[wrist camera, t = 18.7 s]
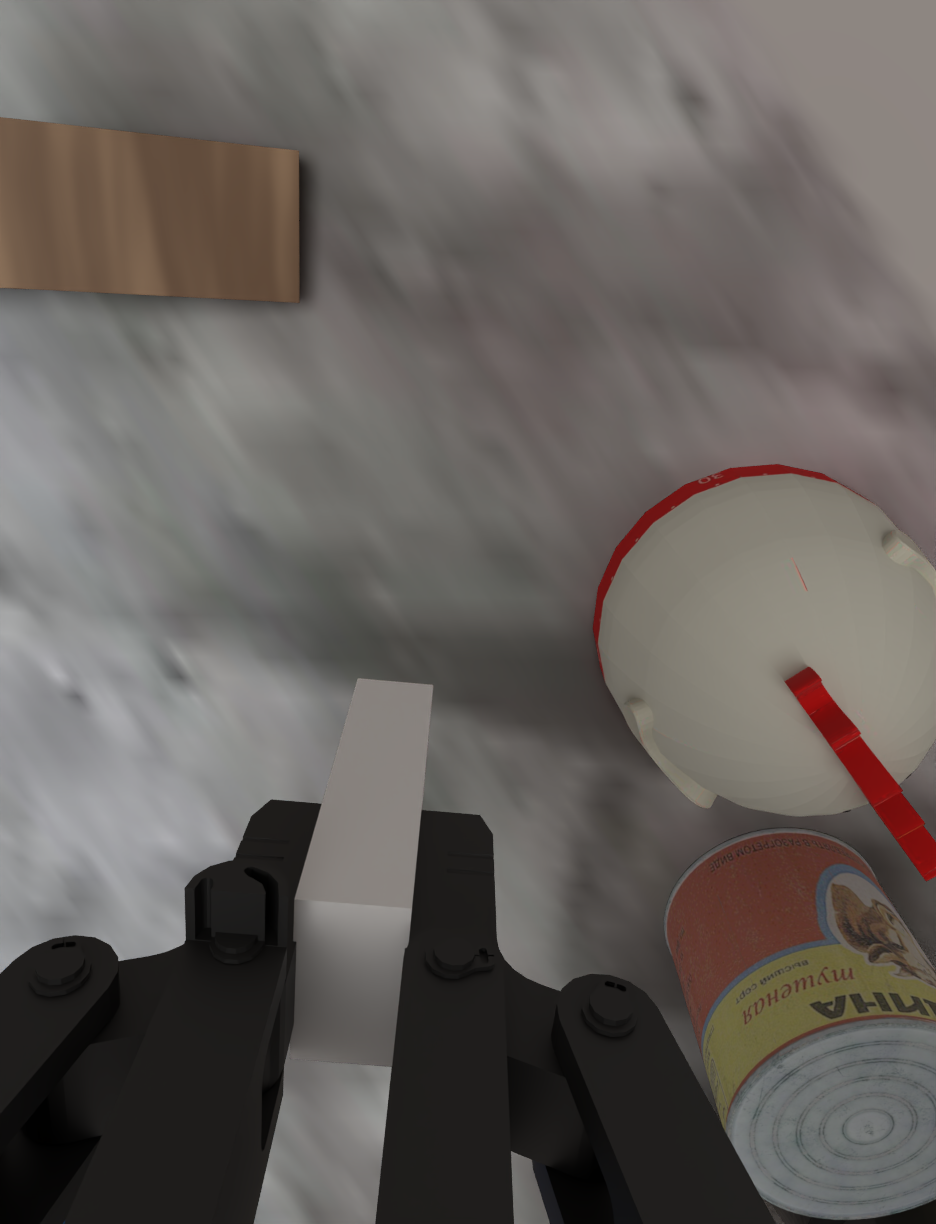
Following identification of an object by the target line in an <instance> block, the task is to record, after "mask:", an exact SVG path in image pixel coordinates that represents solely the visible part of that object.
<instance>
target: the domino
mask: <svg viewBox="0 0 936 1224" xmlns="http://www.w3.org/2000/svg"><path fill="white" fill-rule="evenodd" d="M0 288H20V289H40V290H59V291H79V292H98V293H118V294H138V295H157V296H177V297H196V298H216V299H235V300H255V301H275V302H294V303H299V151H296V150H287V149H278V148H269V147H260V146H252V145H243V144H234V143H225V142H216V141H207V140H198V139H189V138H180V137H171V136H162V135H154V134H145V133H136V132H127V131H118V130H109V129H100V128H91V127H82V126H73V125H64V124H55V123H47V122H38V121H29V120H20V119H11V118H2V117H0Z"/></svg>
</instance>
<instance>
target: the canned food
mask: <svg viewBox="0 0 936 1224" xmlns="http://www.w3.org/2000/svg"><path fill="white" fill-rule="evenodd" d="M664 933H665V938H666V942H667V946H668V948H669V951H670V953H671V955H672V957H673V960H674V963H675V966H676V970H677V973H678V977H679V980H680V983H681V987H682V990H683V994H684V997H685V1000H686V1004H687V1007H688V1011H689V1014H690V1017H691V1021H692V1024H693V1028H694V1031H695V1034H696V1038H697V1041H698V1045H699V1048H700V1051H701V1055H702V1058H703V1062H704V1065H705V1068H706V1072H707V1075H708V1079H709V1082H710V1085H711V1089H712V1092H713V1096H714V1099H715V1102H716V1106H717V1109H718V1113H719V1116H720V1119H721V1123H722V1126H723V1128H724V1130H725V1132H726V1134H727V1136H728V1137H729V1139H730V1141H731V1143H732V1145H733V1147H734V1148H735V1150H736V1152H737V1154H738V1156H739V1158H740V1159H741V1161H742V1163H743V1165H744V1167H745V1168H746V1170H747V1172H748V1174H749V1176H750V1178H751V1179H752V1181H753V1183H754V1185H755V1187H756V1189H757V1190H758V1192H759V1194H760V1196H761V1198H763V1199H764V1200H766V1201H768V1202H769V1203H771V1204H773V1205H775V1206H777V1207H780V1208H782V1209H785V1210H787V1211H790V1212H793V1213H797V1214H800V1215H805V1216H809V1217H815V1218H821V1219H833V1220H856V1219H868V1218H876V1217H882V1216H887V1215H891V1214H896V1213H900V1212H903V1211H907V1210H910V1209H913V1208H916V1207H919V1206H921V1205H924V1204H926V1203H929V1202H931V1201H933V1200H935V1199H936V970H935V969H934V967H933V966H932V964H931V963H930V961H929V960H928V958H927V957H926V955H925V954H924V952H923V950H922V949H921V947H920V946H919V944H918V943H917V941H916V940H915V938H914V937H913V935H912V934H911V932H910V931H909V929H908V927H907V926H906V924H905V923H904V921H903V920H902V918H901V917H900V915H899V914H898V912H897V911H896V909H895V908H894V906H893V905H892V903H891V901H890V900H889V898H888V897H887V895H886V894H885V892H884V891H883V889H882V888H881V886H880V885H879V883H878V881H877V878H876V876H875V874H874V872H873V871H872V869H871V867H870V866H869V864H868V863H867V862H866V860H865V859H864V858H863V857H862V856H861V855H860V854H859V853H858V852H857V851H856V850H854V849H853V848H852V847H851V846H849V845H848V844H846V843H844V842H843V841H841V840H839V839H837V838H835V837H832V836H830V835H827V834H824V833H821V832H817V831H812V830H807V829H799V828H773V829H766V830H760V831H755V832H751V833H748V834H744V835H741V836H738V837H736V838H733V839H731V840H728V841H726V842H724V843H722V844H720V845H718V846H717V847H715V848H713V849H711V850H710V851H709V852H707V853H706V854H704V855H703V856H701V857H700V858H699V859H698V860H697V861H695V862H694V863H693V864H692V865H691V866H690V867H689V868H688V869H687V870H686V872H685V873H684V874H683V875H682V876H681V878H680V879H679V881H678V882H677V884H676V885H675V887H674V889H673V891H672V892H671V895H670V897H669V899H668V902H667V906H666V909H665V916H664Z"/></svg>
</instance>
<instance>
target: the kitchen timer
mask: <svg viewBox="0 0 936 1224" xmlns="http://www.w3.org/2000/svg"><path fill="white" fill-rule="evenodd" d="M593 632H594V637H595V642H596V648H597V653H598V658H599V663H600V668H601V671H602V674H603V677H604V680H605V683H606V685H607V687H608V688H609V690H610V692H611V694H612V695H613V697H614V699H615V701H616V703H617V704H618V706H619V708H620V710H621V712H622V713H623V715H624V717H625V720H626V722H627V724H628V726H629V728H630V730H631V731H632V733H633V734H634V736H635V737H636V738H637V740H638V741H639V742H640V743H641V745H642V746H643V747H644V749H645V750H646V751H647V752H648V754H649V755H650V756H651V758H652V759H653V760H654V762H655V763H656V764H657V765H658V766H659V768H660V769H661V770H662V771H663V772H664V773H665V775H666V776H667V777H668V778H669V779H670V780H671V781H672V782H673V784H674V785H675V786H676V787H677V788H678V789H679V790H680V791H681V792H682V793H683V794H684V795H685V796H686V797H687V798H688V799H690V800H691V801H692V802H693V803H695V804H696V805H698V806H699V807H701V808H705V809H707V808H710V807H711V806H712V804H713V802H714V800H715V799H716V797H717V795H719V796H721V797H723V798H725V799H728V800H730V801H732V802H734V803H736V804H738V805H740V806H743V807H746V808H750V809H754V810H760V811H766V812H771V813H777V814H782V815H788V816H797V817H800V816H815V815H830V814H838V813H841V812H848V811H851V809H854V808H858V807H861V806H864V805H867V804H869V803H870V804H871V806H872V807H873V808H874V810H875V811H876V813H877V814H878V815H879V817H880V818H881V820H882V821H883V822H884V824H885V825H886V827H887V828H888V829H889V831H890V832H891V833H892V835H893V836H894V838H895V839H896V840H897V842H898V843H899V845H900V846H901V847H902V849H903V850H904V852H905V853H906V854H907V856H908V857H909V858H910V860H911V861H912V863H913V864H914V865H915V867H916V868H917V870H918V871H919V872H920V874H921V875H922V876H923V878H924V879H925V881H928V880H930V879H932V878H934V877H936V842H935V840H934V839H933V838H932V836H931V835H930V834H929V832H928V831H927V830H926V829H925V827H924V826H923V825H925V823H924V821H923V820H922V819H921V817H920V816H919V815H918V814H917V812H916V811H915V810H914V808H913V807H912V806H911V805H910V803H909V802H908V801H907V800H906V798H905V797H904V796H903V794H902V793H901V792H902V791H903V790H902V789H901V787H900V786H899V784H900V783H902V782H903V781H904V780H905V779H907V778H908V777H909V776H910V775H911V774H912V772H913V771H914V770H916V769H917V767H918V766H919V765H920V763H921V761H922V760H923V758H924V757H925V755H926V754H927V752H928V751H929V749H930V748H931V746H932V744H933V743H934V741H935V740H936V570H935V569H934V568H933V566H932V565H931V564H930V562H929V561H928V560H927V558H926V557H925V556H924V555H923V553H922V552H921V551H920V549H919V548H918V547H917V545H916V544H915V543H914V542H913V541H912V540H911V539H910V538H909V537H908V536H907V535H906V534H904V533H903V532H901V531H899V530H898V528H897V527H896V526H895V525H894V524H893V523H892V521H891V520H890V519H889V518H888V517H887V516H886V515H885V513H884V512H883V511H882V510H881V509H880V508H879V507H878V506H877V505H875V504H874V503H872V502H870V501H869V500H867V499H866V498H864V497H862V496H861V495H859V494H857V493H856V492H854V491H852V490H850V489H849V488H847V487H845V486H843V485H842V484H840V483H838V482H836V481H835V480H833V479H831V478H829V477H828V476H826V475H824V474H822V473H817V472H813V471H808V470H803V469H798V468H793V467H789V466H784V465H779V464H775V465H762V466H750V467H738V468H729V469H727V470H724V471H721V472H718V473H716V474H713V475H710V476H707V477H705V478H702V479H699V480H696V481H694V482H691V483H688V484H686V485H684V486H682V487H681V488H680V489H678V490H677V491H675V492H674V493H672V494H671V495H670V496H668V497H667V498H665V499H664V500H662V501H661V502H660V503H658V504H657V505H655V506H654V507H652V508H651V509H650V510H648V511H647V512H645V514H644V515H643V516H642V517H641V518H640V520H639V521H638V522H637V523H636V524H635V525H634V527H633V528H632V529H631V530H630V531H629V533H628V534H627V535H626V536H625V537H624V539H623V540H622V541H621V542H620V543H619V545H618V546H617V547H616V549H615V551H614V553H613V555H612V558H611V560H610V562H609V564H608V566H607V569H606V571H605V573H604V575H603V578H602V580H601V582H600V584H599V587H598V592H597V600H596V608H595V616H594V623H593Z"/></svg>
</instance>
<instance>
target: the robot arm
mask: <svg viewBox="0 0 936 1224" xmlns="http://www.w3.org/2000/svg"><path fill="white" fill-rule="evenodd" d="M432 693H433V685H428V684H416V683H405V682H394V681H383V680H371V679H360V678H358V679H357V683H356V686H355V690H354V693H353V697H352V700H351V704H350V707H349V711H348V714H347V718H346V721H345V725H344V728H343V732H342V735H341V739H340V742H339V746H338V749H337V753H336V756H335V760H334V763H333V767H332V770H331V774H330V777H329V780H328V784H327V787H326V791H325V794H324V798H323V801H322V804H318V803H306V802H294V801H282V800H270V801H269V802H268V803H267V804H265V805H264V806H263V807H262V808H261V809H259V810H258V811H257V812H256V813H255V814H254V815H252V816H251V819H250V821H249V823H248V826H247V828H246V831H245V833H244V836H243V841H241V843H240V845H239V848H238V850H237V853H236V858H234V860H233V861H227V862H223V863H220V864H216V865H213V866H210V867H208V868H207V869H205V870H203V871H202V872H200V873H198V874H197V875H195V876H194V877H193V878H192V880H191V881H190V882H189V883H188V885H187V886H186V887H185V920H186V941H185V943H184V944H183V945H182V946H179V947H177V948H175V949H172V950H170V951H168V952H165V953H161V954H157V955H152V956H148V957H142V958H136V959H129V960H123V961H118V956H117V955H116V953H115V952H114V950H113V949H112V947H111V946H110V945H109V944H107V943H105V942H103V941H101V940H99V939H97V938H95V937H85V936H76V935H75V936H68V937H62V938H55V939H52V940H49V941H47V942H44V943H42V944H39V945H37V946H34V947H32V948H31V949H29V950H28V951H26V952H25V953H24V954H22V955H21V956H19V957H18V958H17V959H15V960H14V961H13V962H12V963H11V964H10V965H9V966H8V967H7V968H6V969H5V970H4V971H3V972H2V973H1V974H0V1224H63V1223H64V1222H65V1223H64V1224H253V1223H254V1219H255V1215H256V1210H257V1206H258V1202H259V1197H260V1193H261V1188H262V1184H263V1180H264V1175H265V1171H266V1167H267V1162H268V1158H269V1153H270V1149H271V1145H272V1140H273V1136H274V1132H275V1127H276V1123H277V1119H278V1114H279V1110H280V1105H281V1101H282V1097H283V1076H284V1064H285V1059H286V1055H287V1051H288V1047H289V1043H290V1059H295V1060H308V1061H321V1062H335V1063H348V1064H361V1065H374V1066H388V1067H392V1071H391V1081H390V1090H389V1100H388V1109H387V1119H386V1128H385V1138H384V1147H383V1157H382V1166H381V1176H380V1185H379V1195H378V1204H377V1214H376V1223H375V1224H514V1216H513V1192H512V1167H511V1151H512V1152H515V1153H517V1154H520V1155H522V1156H524V1157H527V1158H529V1159H532V1162H533V1170H534V1173H535V1177H536V1180H537V1183H538V1186H539V1189H540V1193H541V1196H542V1199H543V1202H544V1205H545V1208H546V1212H547V1215H548V1218H549V1221H550V1224H776V1223H775V1222H774V1220H773V1218H772V1216H771V1214H770V1212H769V1211H768V1209H767V1207H766V1205H765V1203H764V1201H763V1200H762V1198H761V1196H760V1194H759V1192H758V1190H757V1189H756V1187H755V1185H754V1183H753V1181H752V1179H751V1178H750V1176H749V1174H748V1172H747V1170H746V1168H745V1167H744V1165H743V1163H742V1161H741V1159H740V1158H739V1156H738V1154H737V1152H736V1150H735V1148H734V1147H733V1145H732V1143H731V1141H730V1139H729V1137H728V1136H727V1134H726V1132H725V1130H724V1128H723V1126H722V1125H721V1123H720V1121H719V1119H718V1117H717V1115H716V1114H715V1112H714V1110H713V1108H712V1106H711V1104H710V1103H709V1101H708V1099H707V1097H706V1095H705V1094H704V1092H703V1090H702V1088H701V1086H700V1084H699V1083H698V1081H697V1079H696V1077H695V1075H694V1073H693V1072H692V1070H691V1068H690V1066H689V1064H688V1062H687V1061H686V1059H685V1057H684V1055H683V1053H682V1051H681V1050H680V1048H679V1046H678V1044H677V1042H676V1040H675V1039H674V1037H673V1035H672V1033H671V1031H670V1030H669V1028H668V1026H667V1024H666V1022H665V1020H664V1019H663V1017H662V1015H661V1013H660V1011H659V1009H658V1008H657V1006H656V1005H655V1004H654V1003H653V1001H652V1000H651V999H650V998H649V996H648V995H647V994H646V993H645V992H644V991H642V990H641V989H639V988H638V987H636V986H635V985H633V984H632V983H630V982H629V981H626V980H623V979H620V978H617V977H614V976H611V975H599V974H589V975H586V976H582V977H579V978H575V979H573V980H572V981H571V982H569V983H568V984H567V985H566V986H565V987H564V988H562V990H561V991H558V990H555V989H552V988H549V987H546V986H543V985H541V984H538V983H536V982H534V981H532V980H529V979H527V978H525V977H524V976H522V975H521V974H520V973H518V972H517V971H515V970H514V969H513V968H512V967H511V966H510V965H509V964H508V963H507V962H506V961H505V959H504V958H503V956H502V954H501V952H500V950H499V947H498V942H497V934H496V907H495V880H494V859H493V856H494V853H493V834H492V832H491V831H490V829H489V828H488V826H487V825H486V823H485V822H484V820H483V819H482V817H481V816H480V815H473V814H461V813H449V812H437V811H426V810H422V804H423V793H424V782H425V771H426V760H427V749H428V738H429V727H430V716H431V704H432ZM772 1205H773V1204H772ZM773 1207H774V1208H775V1210H776V1211H777V1213H778V1214H779V1216H780V1217H781V1219H782V1220H783V1222H784V1223H785V1224H936V1199H935V1200H933V1201H931V1202H929V1203H926V1204H924V1205H921V1206H919V1207H916V1208H913V1209H910V1210H907V1211H903V1212H900V1213H896V1214H891V1215H887V1216H882V1217H876V1218H868V1219H856V1220H833V1219H821V1218H815V1217H809V1216H805V1215H800V1214H797V1213H793V1212H790V1211H787V1210H785V1209H782V1208H780V1207H777V1206H775V1205H773Z"/></svg>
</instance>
